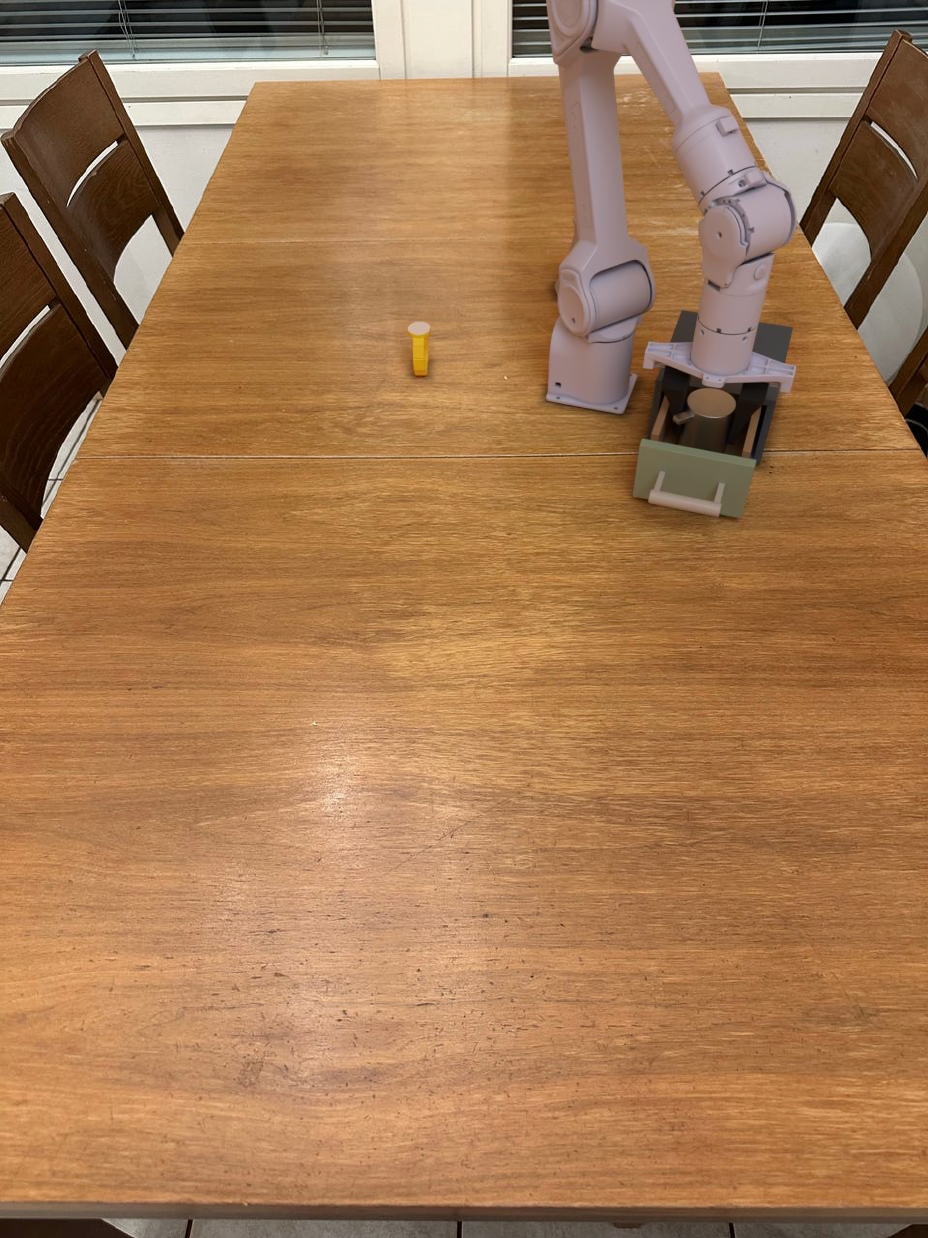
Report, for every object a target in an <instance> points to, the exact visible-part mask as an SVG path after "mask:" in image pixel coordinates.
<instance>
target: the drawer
mask: <svg viewBox="0 0 928 1238" xmlns="http://www.w3.org/2000/svg"><path fill="white" fill-rule="evenodd" d="M691 393H692V392H688V394H687V397H688V396H689V395H690V394H691ZM735 401H736V409H737V405H738V400H735ZM761 408H762V406H761V407H760V408H759V409H758V410H757V411H756V412H755V413H754V414H753V415H752V416H751V417H750V418H749V419H748V420H747V422H746V423H745V424H744V426H743V427H742V429H741V430H740V432H739V434H738V435H737V437H736V439H735V442H734V445H729V444H727V448H726V452H725V454H722V453H717V452H712V451H706V450H701V449H696V448H690V447H685V446H680V445H678V444H679V438H680V435H676V434H674V426H673V418H672V413H671V409H670V405H669V403H668V400H667V398H666V396H665V397H664V400H663V402H662V405H661V408H660V411H659V414H658V416H657V419H656V422H655V425H654V428H653V431H652V433H651V440H648V439H647V438H641V440H640V443H639V447H638V454H637V460H636V461H637V462H636V468H635V475H634V483H633V490H632V497H634V498H638V499H644V500H647V502H648V504H651V505H656V506H660V507H665V508H670V509H675V510H680V511H686V512H690V513H695V514H700V515H705V516H710V517H715V518H719V517H720V515H722V516H727V517H731V518H736V519H742V518H743V515H744V512H745V506H746V502H747V499H748V495H749V491H750V489H751V483H752V481H753V477H754V472H755V468H756V466H757V465H756V460H754V459H749V458H750V454H751V450H752V445H753V441H754V437H755V433H756V429H757V425H758V420H759V416H760V412H761ZM735 413H736V410H735ZM734 416H735V414H734ZM733 419H734V418H733Z"/></svg>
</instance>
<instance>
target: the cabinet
mask: <svg viewBox="0 0 928 1238" xmlns="http://www.w3.org/2000/svg"><path fill="white" fill-rule="evenodd" d="M697 316H698V311H692V310H691V311H690V310H684V309H682V310H681V311H680V313H679V317H678V320H677V322H676V325H675V327H674V330H673V333H672V335H671V338H670V341H669V343H683V342H693V339H694V333H695V328H696V322H697ZM793 330H794V327H793V326H787V325H781V324H775V323H769V322H761V321H759V324H758V328H757V332H756V337H755V341H754V345H753V350H752V352H755V353H757V354H760V355H763V356H765V357H768V358H771V359H773V360H776V361H779V362H782V363H785V364H786V361H787V357H788V352H789V348H790V343H791V339H792V334H793ZM664 370H665V368H662V367H659V370H658V373H657V375H656V379H655V383H654V385H655V386H654V390H653V396H652V403H651V411H650V417H649V424H648V431H647V436H646V439H648V440H651V433H652V431H653V428H654V425H655V422H656V419H657V416H658V414H659V411H660V408H661V405H662V402H663V400H664V397H665V394H664V392H663V390H662V379H663V375H664ZM742 385H743V383H724V386H723V387H722V388H715V387H709V386H705V385H703V384H702V379H701V378H698V377H696V376H693V375H691V379H690V384H689V389H688V392H693V391H695V390H698V389H703V388H713V389H719V390H722V391H725V392H727V393H728V394H730V395H731V396H732V397H733V398H734V399H735V400H739V396H740V392H741V389H742ZM779 393H780V391H779V388H778V387H772V386H769V387H768V390H767V395H766V399H765V401H764V403H763V404H762V408H761V412H760V416H759V420H758V425H757V429H756V433H755V437H754V441H753V445H752V450H751V454H750V458H749V459H754V460H756V465H755V466H759V467H760V465H761V461H762V457H763V454H764V451H765V447H766V443H767V439H768V435H769V431H770V428H771V424H772V420H773V417H774V412H775V409H776V405H777V401H778V397H779Z"/></svg>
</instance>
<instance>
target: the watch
mask: <svg viewBox="0 0 928 1238" xmlns="http://www.w3.org/2000/svg"><path fill="white" fill-rule="evenodd" d="M431 333H432V331H431V325H430V324H429V323H428V322H425V321H415V322H412V323H410V324H409V325H408V327H407V336H408V337H409V338H411V339H412V365H413V374H414V375H415V376H419V377H420V376H427V375H428V367H429V337H430V336H431Z"/></svg>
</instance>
